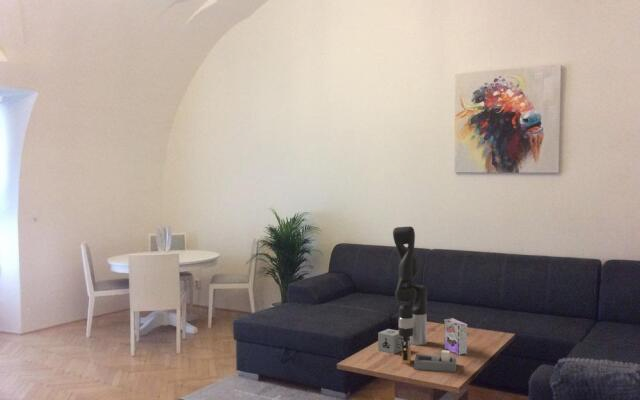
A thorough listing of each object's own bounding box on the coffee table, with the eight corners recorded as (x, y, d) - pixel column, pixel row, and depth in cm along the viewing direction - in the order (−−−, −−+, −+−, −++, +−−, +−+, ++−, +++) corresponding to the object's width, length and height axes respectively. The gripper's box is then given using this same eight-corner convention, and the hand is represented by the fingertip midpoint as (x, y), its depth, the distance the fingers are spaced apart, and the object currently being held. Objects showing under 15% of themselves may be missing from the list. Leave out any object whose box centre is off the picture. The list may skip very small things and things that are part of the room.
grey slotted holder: (416, 361, 298) (416, 346, 298) (456, 364, 293) (456, 348, 293) (414, 369, 287) (414, 353, 286) (455, 372, 281) (455, 355, 281)
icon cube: (388, 346, 325) (388, 328, 325) (403, 349, 319) (403, 331, 318) (378, 350, 318) (378, 332, 317) (393, 354, 311) (393, 335, 311)
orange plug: (402, 360, 300) (402, 347, 300) (410, 361, 299) (410, 347, 299) (401, 363, 296) (401, 349, 296) (409, 363, 295) (409, 350, 295)
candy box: (443, 348, 320) (443, 318, 319) (453, 347, 322) (452, 317, 321) (458, 355, 307) (458, 324, 306) (467, 354, 309) (467, 323, 308)
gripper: (400, 322, 305) (400, 353, 305) (396, 329, 291) (397, 361, 291) (414, 322, 303) (415, 354, 303) (411, 330, 289) (412, 362, 289)
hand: (406, 357), depth 297 cm, fingers open, 7 cm apart
